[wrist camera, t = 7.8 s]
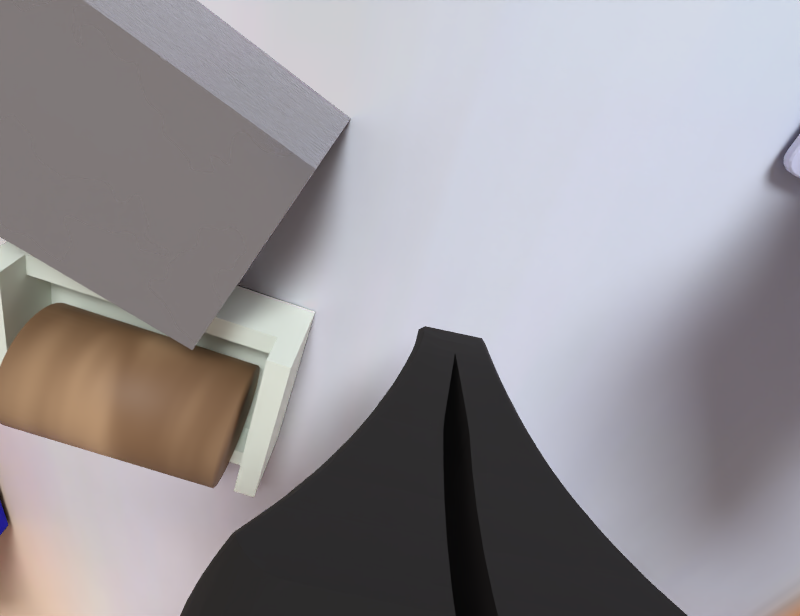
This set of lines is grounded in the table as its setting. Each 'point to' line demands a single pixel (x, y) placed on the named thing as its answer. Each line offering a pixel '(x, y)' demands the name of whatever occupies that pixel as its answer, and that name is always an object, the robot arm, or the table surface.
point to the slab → (149, 150)
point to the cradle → (227, 334)
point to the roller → (126, 393)
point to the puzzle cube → (2, 519)
